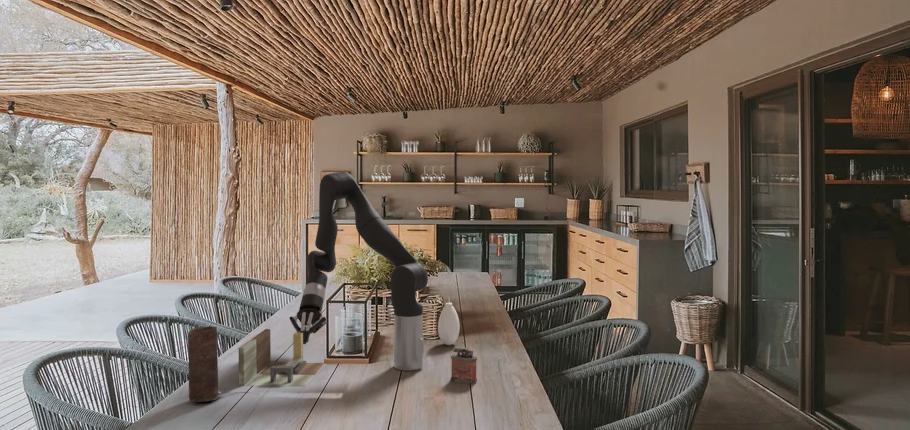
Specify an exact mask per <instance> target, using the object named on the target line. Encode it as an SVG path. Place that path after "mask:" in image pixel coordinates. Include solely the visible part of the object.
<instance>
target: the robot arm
mask: <svg viewBox="0 0 910 430" xmlns="http://www.w3.org/2000/svg"><path fill="white" fill-rule="evenodd" d="M343 199H345V200H346V201H347V202H348V204H350V205H351V207H352V209H353V211H354V219H355V220H354V222H355V223H354V224H355V228H356V229H355V230H356V231H357V233H358V234H359V236H360V237H361V238H362V239H363V241H364V242H365V243H366V245H367V246H368V247H370V249H372V250H373V251H374V252H376V253H377V254H379V255H381V256H382V257H384V258H385V259H387V261H389V262H390V263H391V264H392V265H393V266H394V267H395V268H394V269H393V270H392V272H391V274H390V275H391V276H390V296H391V299H390V300H391V304H392V307H393V317H394V318H393V344H394V345H393V358H394V359H393V366H394V367H393V368H395V369H396V370H399V371H405V372H407V371H408V372H409V371H417V370H422V369H423V367H424V308H423V307H424V306H423V304H422V303H419V302H418V301H417V298H416V292H419V291H421V290H424V289H425V288H426V286H427V285H428V280H429V278H428V273H427V271H426V268H425V267H424V266H423V265H422V264H421V263H420V261H419V260H418V259H417V258H416V257H414V255H412V254H411V253H410V251H409V250H408V249H407V248H406V247H405V246H404V244H403V243H402V241H400V239H399V237H397V235H396V234H395V233H394V232H393V231H392V229H391V227H389V225H388V224H387V223H386V221H385V220H384V219H383V218H382V216H381V215H380V214H379V213H378V212H377V210H376V209H375V208H374V206H373V205H372V203H371V202H370V201H369V199H368V198H367V197H366V195H365V194H364V192H363V190H362V188H361V187H360V186H359V184H358V182H357V181H356V180H355V178H354V177H353V176H352V175H351V174H350V173H349V172H346V171H337V172H333V173H328V174H324V175H323V176H322V177H321V180H320V183H319V196H318V200H319V201H318V210H319V211H318V214H319V216H318V226H317V230H316V236H315V237H316V238H315V243H314V245H315V247H316V248H317V249H318V250H312V251H310V252H309V253H308V254H307V255H306V256H307V257H306V266H307V267H306V268H307V279H306V283H305V287H304V289H303V292H302V296H301V300H300V304H299V310H298V311H297V312H296V315H295V316H290V317H289V322H290V323H291V325H292V326H293V328H294V329H295V331H296V332H303V345H307V343H309V340H310V335H311V334H316V333H317V332H319V331H320V330H321V329H322V328H323V327H324V326H325V325H326V324H327V323H326V320H327V318H326V316H323V314H322V312H323V306H324V301H325V298H326V289H327V284H328V275H327V274H326V273H332V272H333V271H334V270H335V269H336V266H337V258H336V251H335V250H336V249H335V247H336V242H337V241H336V240H337V237H338V232H339V231H338V223H337V221H336V219H335V216H334V213H333V209H334V206H335V205H334V204H335V201H338V200H343ZM319 250H320V251H319ZM298 322H300V325H301V326H300V325H299V324H298Z"/></svg>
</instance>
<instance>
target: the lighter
mask: <svg viewBox="0 0 910 430" xmlns="http://www.w3.org/2000/svg"><path fill="white" fill-rule="evenodd" d="M452 352H453V354H451V355H450V359H451V376H450V381H451V380H452V381H451V382H454V381H456V382H455V383H460V382H462V383H461V384H470V383H474V384H476V382H477V383H478V379H477V361H478V357H477V356H476V355H475V356H474V349H471V348H470V349H469V348H468V347H464V348H462V347H453V348H452ZM455 353H456V354H455Z"/></svg>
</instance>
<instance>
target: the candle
mask: <svg viewBox="0 0 910 430" xmlns="http://www.w3.org/2000/svg"><path fill="white" fill-rule="evenodd" d="M187 346H188V347H187V349H188V351H187V352H188V353H187V355H188V356H187V357H188V360H187V361H188V399H189V401H191V402H198V403H204V402H209V401H216V400H218V399H219V395H220V394H219V370H218V369H219V366H218V361H219V360H218V330H217V326H211V325H210V326H196V327H193V329H191V330H190V331H188V333H187Z"/></svg>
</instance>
